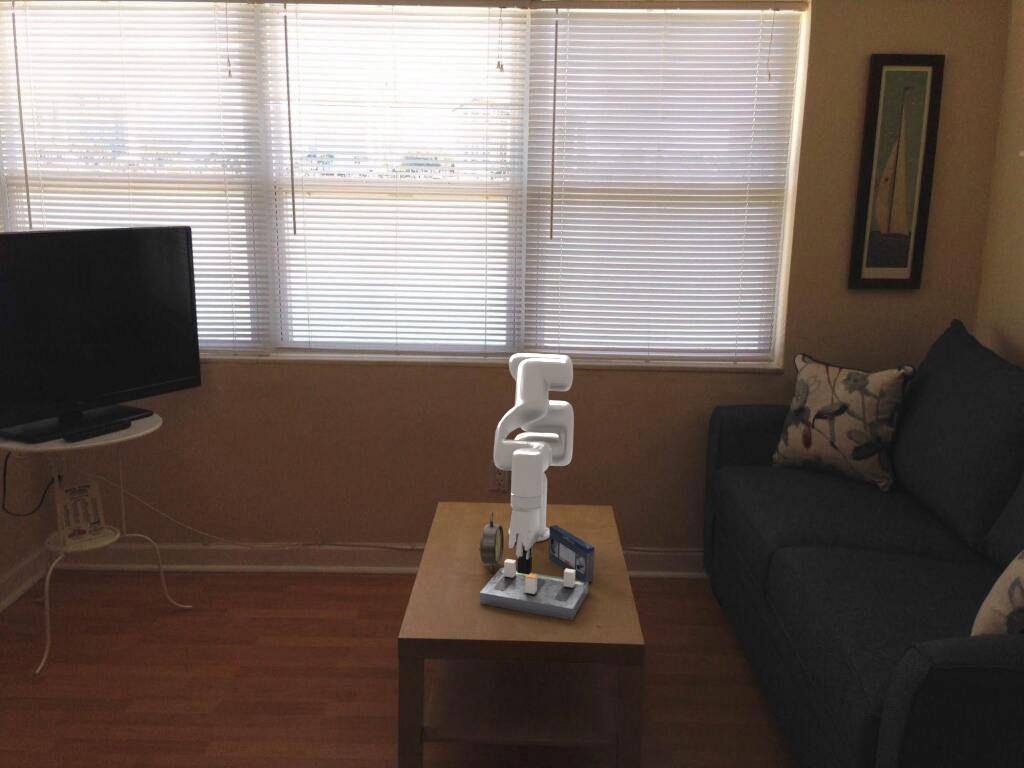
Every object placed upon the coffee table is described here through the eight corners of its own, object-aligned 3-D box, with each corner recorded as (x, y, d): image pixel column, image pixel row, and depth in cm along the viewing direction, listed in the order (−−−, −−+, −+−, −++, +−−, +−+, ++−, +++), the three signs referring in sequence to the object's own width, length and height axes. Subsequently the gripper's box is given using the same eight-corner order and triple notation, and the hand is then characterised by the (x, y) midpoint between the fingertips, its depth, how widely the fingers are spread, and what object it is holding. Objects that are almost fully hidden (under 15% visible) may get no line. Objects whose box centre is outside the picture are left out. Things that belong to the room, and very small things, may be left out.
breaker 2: (565, 582, 233) (566, 568, 233) (574, 584, 233) (575, 569, 232) (563, 586, 232) (563, 571, 231) (572, 587, 231) (573, 572, 230)
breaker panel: (500, 578, 243) (500, 567, 242) (588, 592, 236) (588, 581, 235) (479, 603, 228) (479, 592, 228) (572, 620, 221) (572, 608, 220)
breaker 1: (506, 573, 238) (506, 558, 237) (515, 574, 238) (515, 560, 237) (503, 576, 236) (504, 561, 236) (513, 577, 236) (513, 563, 235)
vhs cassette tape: (548, 559, 256) (549, 525, 254) (556, 557, 258) (558, 524, 256) (584, 584, 241) (585, 549, 239) (593, 582, 242) (595, 547, 240)
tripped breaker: (527, 589, 229) (527, 573, 228) (536, 590, 229) (537, 574, 228) (524, 592, 227) (525, 576, 227) (534, 594, 227) (535, 577, 226)
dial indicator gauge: (495, 575, 244) (497, 519, 241) (476, 573, 246) (477, 517, 242) (504, 559, 255) (505, 505, 251) (485, 557, 256) (486, 503, 252)
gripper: (521, 489, 225) (519, 559, 228) (501, 508, 211) (499, 582, 214) (550, 493, 222) (548, 563, 226) (532, 512, 208) (529, 587, 212)
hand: (524, 572), depth 220 cm, fingers closed
